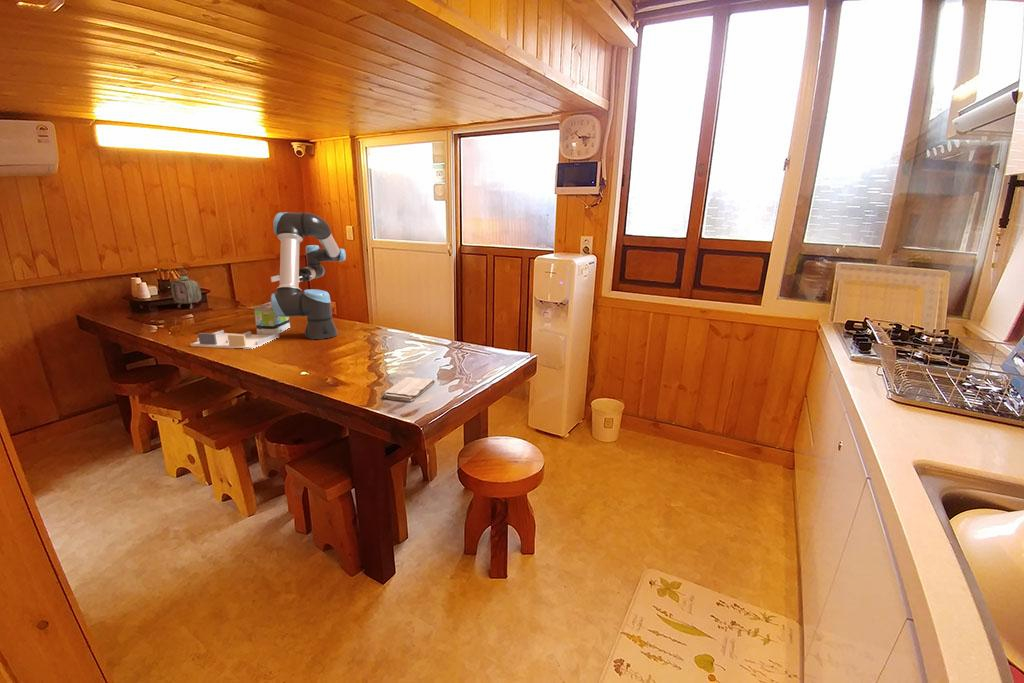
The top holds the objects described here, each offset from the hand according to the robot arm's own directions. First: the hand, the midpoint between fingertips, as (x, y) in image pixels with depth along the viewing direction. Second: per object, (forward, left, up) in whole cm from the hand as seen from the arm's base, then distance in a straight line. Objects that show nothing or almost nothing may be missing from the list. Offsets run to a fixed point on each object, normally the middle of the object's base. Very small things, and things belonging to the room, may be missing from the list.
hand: (283, 280), depth 239 cm
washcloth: (-98, +79, -26) cm, 128 cm away
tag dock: (+5, +34, -25) cm, 42 cm away
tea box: (-1, +14, -25) cm, 29 cm away
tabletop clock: (+88, -30, -25) cm, 97 cm away
